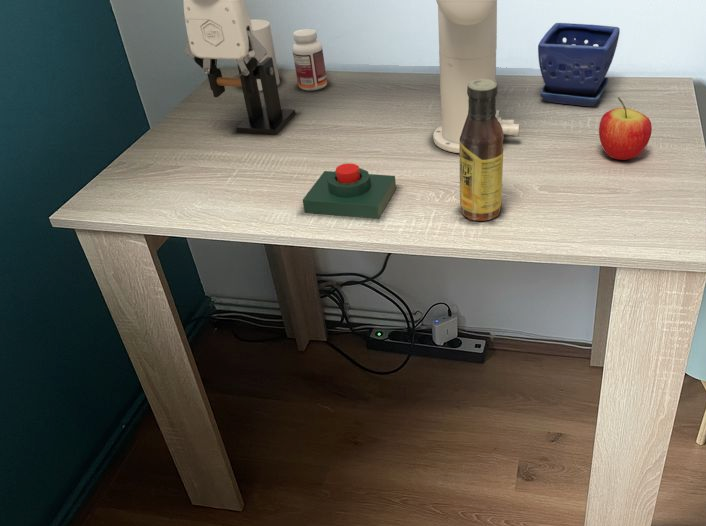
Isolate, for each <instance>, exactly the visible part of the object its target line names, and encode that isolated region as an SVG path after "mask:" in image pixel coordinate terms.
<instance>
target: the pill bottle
mask: <svg viewBox="0 0 706 526" xmlns="http://www.w3.org/2000/svg"><path fill="white" fill-rule="evenodd" d="M292 34H293V40H294V42H295V43H293V45H292V47H291V50H292V57H293V61H294V68H295V74H296V78H297V79H296V80H297V85H298V88H299V89H301V90H303V91H308V92H310V91H311V92H312V91H318V90H321V89H324V88H325V87H327V86H328V77H327V72H326V65H325V58H324V50H323V45H322V43H321V42H320V41H319V40H317V39H318V34H317V30H316V29H314V28H313V29H312V28H302V29H298V30H295V31H294V32H292Z"/></svg>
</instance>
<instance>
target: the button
mask: <svg viewBox="0 0 706 526" xmlns="http://www.w3.org/2000/svg"><path fill="white" fill-rule="evenodd" d="M359 168H360V166H359V165H358V164H355V163H350V162H349V163H342V164H339V165H338V166H336V167H335V171H336V176H337V181H338V182H340V183H353V182H356V181H358V180H360V171H359Z"/></svg>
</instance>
